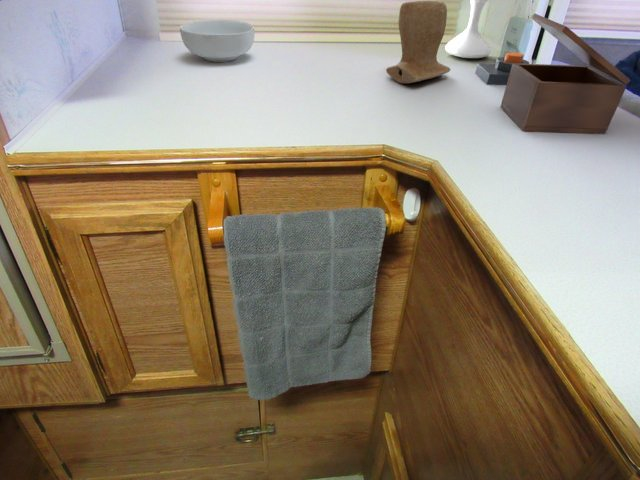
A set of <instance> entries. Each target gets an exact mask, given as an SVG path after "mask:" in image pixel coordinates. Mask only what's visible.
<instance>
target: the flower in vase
mask: <svg viewBox="0 0 640 480" xmlns="http://www.w3.org/2000/svg"><path fill="white" fill-rule="evenodd" d="M487 2H488V0H470V15H469V16H470V17H469V21H468V25H467V27H466V29H465V30H464V31H463V32H461V33H460V34H459V35H457V36H455V37H454V38H453V39H451V40H450V41H449V42H448V43H447V44H446V45H445V47H444V48H445V51H446V52H447V53H448V54H449V55H451V56H454V57H458V58H463V59H481V58H484V57H487V56H489V55H490V54H491V51H492V50H491V47H490V45H489V44H488V42H487V40H486V39H485V38H484V37H483V36H482V35H481V33H480V31H479V22H480V18H481V14H482V12H483V9H484V6H485V5H486V3H487Z"/></svg>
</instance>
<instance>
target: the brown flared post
mask: <svg viewBox="0 0 640 480" xmlns="http://www.w3.org/2000/svg"><path fill="white" fill-rule="evenodd" d="M398 12H399V13H398V14H399V15H398V31H399V37H400V44H401V58H400V61H399V62H397V63H396V64H393V65H392V66H389V67H387V68H386V69H385V70H386V73H387V74H388V75H389V76H390V77H391V78H392V79H393V80H394V81H395V82H397V83H400V84H412V83H418V82H421V81H427V80H430V79H433V78H436V77H440V76H442V75H445V74H448V73H449V72H450V71H451V68H450V67H449V66H447V65H444V64H443V63H440V62H438V59H437V57H438V56H437V55H438V53H439V49H440V46H441V43H442V41H443V38H444V36H445V33H446V32H445V31H446V27H447V17H448V8H447V5H446V3H445V1H438V0H416V1H406V2H403V3H402V4H401V5H400V7H399V11H398Z"/></svg>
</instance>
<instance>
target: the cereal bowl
mask: <svg viewBox="0 0 640 480" xmlns="http://www.w3.org/2000/svg"><path fill="white" fill-rule="evenodd" d="M179 33H180V37H181V40H182V43H183V44H184V46H185V48H186V49H187V50H188V51H189V52H190V53H192V54H194V55H195V56H198V57H201V58H203V59H204V60H205V61H208V62H212V63H213V62H214V63H226V62H232V61H235V60H237V59H238V57H240V56H243V55H245V54H247V53H248V51H249V50H250V49H251V48H252V46H253V44H254V41H255V27H254V25H252V23H249V22H246V21H242V20H235V19H234V20H233V19H204V20H196V21H195V20H194V21H190V22H187V23H186V22H185V23H183V24H181V25H180V26H179Z"/></svg>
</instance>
